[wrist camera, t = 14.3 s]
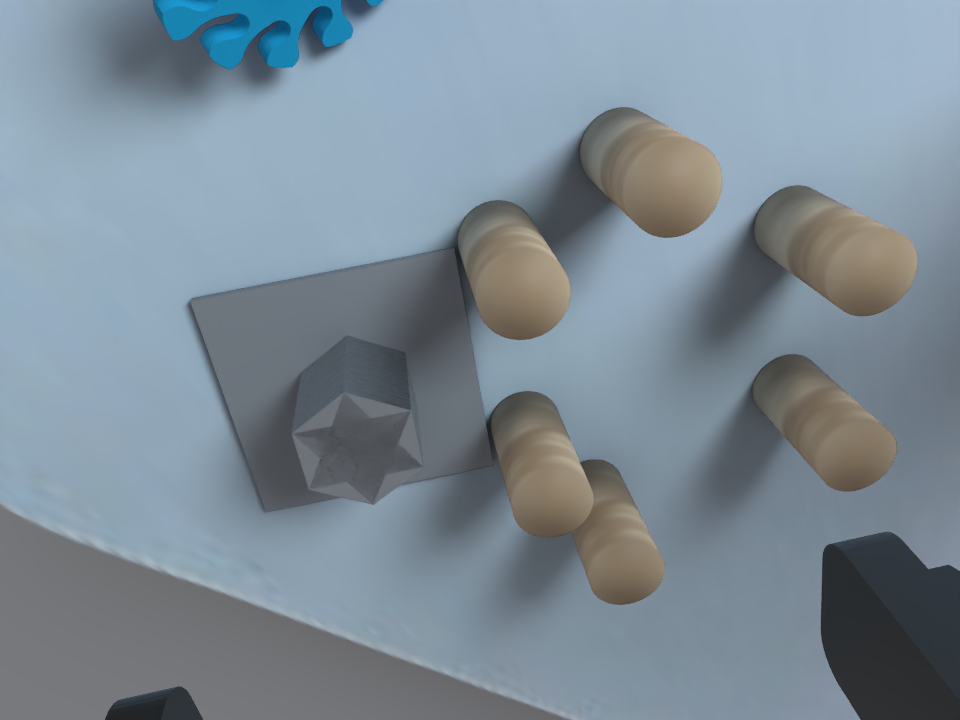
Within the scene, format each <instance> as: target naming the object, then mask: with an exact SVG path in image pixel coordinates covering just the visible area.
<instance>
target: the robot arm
mask: <svg viewBox="0 0 960 720" xmlns="http://www.w3.org/2000/svg"><path fill="white" fill-rule="evenodd" d="M821 637H822V643H823V647H824V651H825V655H826V658H827V661H828V663H829V666H830V668H831V670H832V673H833V675H834V677H835V679H836V681H837V682H838V684H839V686H840V687H841V689H842V691H843V692H844V694H845V695H846V697H847V698H848V700H849V702H850V703H851V705H852V706H853V708H854V710H855V711H856V713H857V714H858V716H859V717H860V719H861V720H960V571H959V570H957V569H955V568H953V567H952V566H950V565H946V566H941V567H937V568H932V569H927V567H926V566H925V565H924V564H923V563H922V562H921V561H920V560H919V559H918V557H917V556H916V555H915V554H914V553H913V552H912V551H911V550H910V549H909V547H908V546H907V545H906V544H905V543H904V542H903V541H902V540H901V539H900V538H899V537H898V536H896V535H895V534H893V533H891V532H883V533H878V534H874V535H869V536H865V537H860V538H856V539H851V540H847V541H842V542H838V543H833V544H829V545H827V546H826V547H825V549H824V552H823V563H822V603H821ZM105 720H203V718H202V717H201V715H200V713H199V711H198V709H197V707H196V705H195V704H194V701H193V700H192V698H191V696H190V694H189V693H188V692H187V690H186V689H184V688H182V687H175V688H170V689H166V690H162V691H157V692H152V693H148V694H143V695H139V696H134V697H130V698H125V699H121V700H118V701H116V702H115V703H114V704H113V705H112V707H111V708H110V710H109V711H108V714H107V716H106V719H105Z"/></svg>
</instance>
